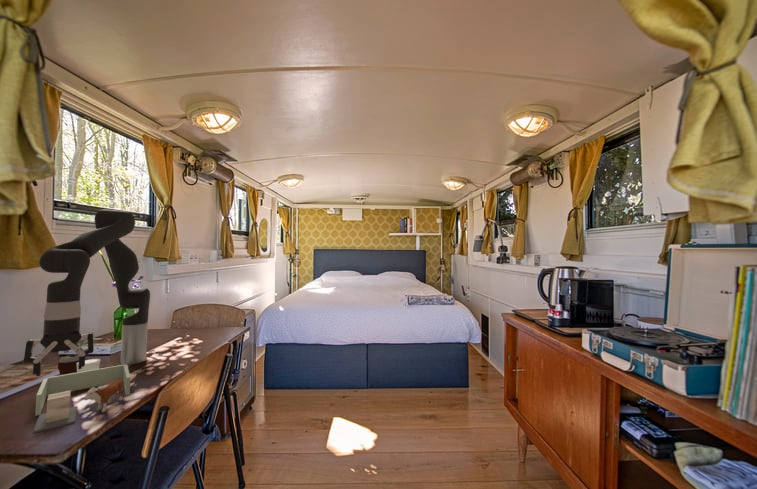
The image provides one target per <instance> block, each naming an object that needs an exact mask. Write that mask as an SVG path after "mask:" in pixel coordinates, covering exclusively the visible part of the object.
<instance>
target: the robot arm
mask: <svg viewBox="0 0 757 489" xmlns="http://www.w3.org/2000/svg"><path fill="white" fill-rule="evenodd" d="M94 226H95V229H91V230H89V231H86V232H83V233H81V234H79V235H78V236H77V237H75V238H74V239H72V240H71V241H68V242H65V243H61V244H59V245H56V246H53V247H50V248H49V249H47V250H46V251H44V252H43V253H42V254H41V256H40V258H39V263H38V264H39V266H40V268H41V269H42V270H43V271H45V272H47V273H51V274H67V276H66V277H65V278H64V279H63V280H57V281H56V280H55V281H51V282H50V283H48V285H47V290H46V305H45V308H44V314H43V332H42V333H43V335H42V338H41V339H40V338H39V339H33V338H30V339H28V340H27V341H26V343H25V349H24V356H23V362H24V363H25V364H26V363H31V364H32V366H33V369H32V374H33V376H35V377H41V375H42V360H43V358H45V357H46V356H47V355H48V354H49V353H53V354H54V353H55V354H56V353H59V352H68V351H70V350H72V351H74V353H75V354H76V353H77V354H79V355H80V356H79V366H78V369H82V367H84V365H85V360H86V356H88V354H89V355H90V354H92V353H94V350H95V349H94V333H93V332H92V331H90V332H88V333H84V334H83V333H82V334H81V332H80V329H81V326H80V325H81V313H82V312H81V311H82V310H81V309H82V308H81V290H82V289H81V288H82V284H83V282H84V279H85V276H86V274H87V271H88V270H89V267H90V264H91V258H92V257H94V256H95V255H96V254H97V253H98V252H100V251H101V250H102V249H103V248H104V249H105V252H106V256H107V260H108V264H109V268H110V270H111V272H112V276H113V279H114V283H115V286H116V292H117V298H118V304H119V306H120V308H122V309H125V310H131V309H132V310H133V309H134V310H135V309H138V312H136V313H134V314H132V315H128V316H125V317H123V318H122V321H121V322H122V327H121V346H120V365H124V364H127V365H134V364H135V365H136V364H140V363H143V362H145V361H146V360H147V350H148V349H147V347H148V346H147V345H148V325H149V324H148V323H149V322H148V321H149V312H150V310H149V309H150V301H151V292H150V289H149V288H146V287H145V288H139V287H138V288H131V287H129V284H130V282H131V281H132V280H133V279H134V278H135V276H136V275H137V273H138V272H139V269H140V268H139V267H140V266H139V262H138V258H137V255H136V253H135V252H134V251H133V249H131V248H130V247H129V246H128V245H127V244H125V243H124V242H123V241H122V240H121V238H123V237H125V236H128V235H129V234H130V233H132V232H133V231H134V229H135V226H136V219H135V216H134V213H131V212H130V211H124V210H116V209H115V210H114V209H99V210H97V211H96V213H95V215H94ZM81 339H82V340H85V341H84V342H87V349H85V350H84V349H83V348H82V346H81V347H80V344H78V342H79V341H80V340H81ZM39 344H41V346H43V347H44V348H43V350H42V351H40V353H39V354H38V355H37V356H33V349H34V348H36V347H37V346H38V345H39Z"/></svg>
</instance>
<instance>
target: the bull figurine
mask: <svg viewBox="0 0 757 489" xmlns="http://www.w3.org/2000/svg"><path fill="white" fill-rule="evenodd" d="M123 389H124V382H123V380H121V379H120V378H117V379H116V380H114V381H112V382H110V383H108V384H106V385H101V386H97V387H91V388H89V390H88V391H87V392H86V394H85V395H84V397H83V400H84V401H87V400H91V401H92V400H93V401H94V402H95V403H96V405H97V408H96V412H97V411H101V413H105V412H106V411H107V407H106V406H107V405H109V404H111V402H112V398H114V397H115V395H118V393H119V398H118V402H121V401H123V398H124V397H123V394H124V391H123ZM102 404H103V406H102Z"/></svg>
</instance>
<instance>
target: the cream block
mask: <svg viewBox="0 0 757 489" xmlns="http://www.w3.org/2000/svg"><path fill="white" fill-rule="evenodd" d="M71 393H72V391H71V390H70V391H65V392H60V393H55V394H50V395H49V396H47V398H46V412H45V413H46V423H49V422H53V421H57V420H61V419H65V418H69V413H70V408H71Z"/></svg>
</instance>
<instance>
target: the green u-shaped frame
mask: <svg viewBox="0 0 757 489" xmlns="http://www.w3.org/2000/svg"><path fill="white" fill-rule="evenodd" d="M130 374H131V373H130V370H129V367H128V364H119V365H114V366H107V367H102V368H100V367H99V369H95V370H89V371H83V372H77V373H71V374H65V375H60V374H59V375H56V376H49V377H44V378H43V380H42V382H41V384H40V386H39V389H38V390H37V393H36V395H35V413H34V416H35V417H36V416H39V415H40V414H42V412H43V411H42V410H43V407H44V406H45V402H46V401H47V398H48V396H49V395H50V394H55V393H60V392H65V391H70V390H71V392H76V391H80V390H85V389H91V388H93V387H95V388H97V387H99V386H104V385H107V384H108V383H110V382H112V381H114V380H116V379H117V378H120V379H121V380H123V382H124V384H123V389H124V393H125V396H126V397H127V396H130V392H131V375H130Z"/></svg>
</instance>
